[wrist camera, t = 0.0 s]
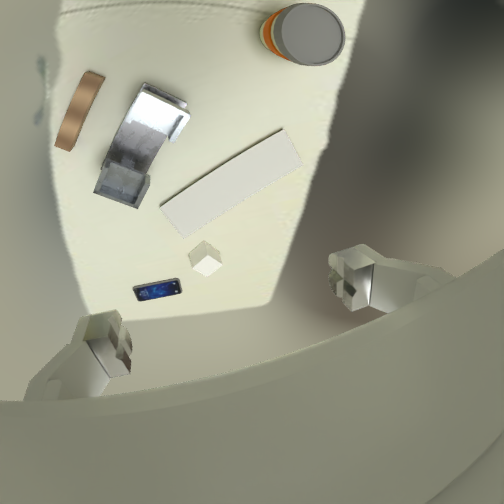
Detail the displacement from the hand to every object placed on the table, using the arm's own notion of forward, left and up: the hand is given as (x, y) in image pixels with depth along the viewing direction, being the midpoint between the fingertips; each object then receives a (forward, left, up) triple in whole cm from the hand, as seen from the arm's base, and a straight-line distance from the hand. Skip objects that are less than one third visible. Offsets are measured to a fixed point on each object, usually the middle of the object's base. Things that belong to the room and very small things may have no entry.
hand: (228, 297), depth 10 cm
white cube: (+34, +30, -52) cm, 69 cm away
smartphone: (+53, +24, -53) cm, 79 cm away
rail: (+11, -15, -52) cm, 56 cm away
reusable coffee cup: (-23, +12, -52) cm, 58 cm away
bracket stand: (+11, 0, -52) cm, 53 cm away
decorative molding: (+12, +24, -53) cm, 59 cm away
